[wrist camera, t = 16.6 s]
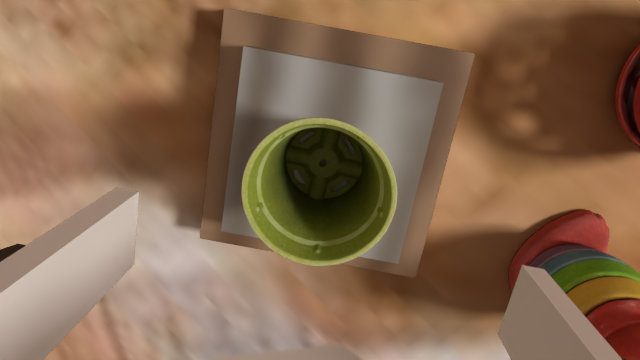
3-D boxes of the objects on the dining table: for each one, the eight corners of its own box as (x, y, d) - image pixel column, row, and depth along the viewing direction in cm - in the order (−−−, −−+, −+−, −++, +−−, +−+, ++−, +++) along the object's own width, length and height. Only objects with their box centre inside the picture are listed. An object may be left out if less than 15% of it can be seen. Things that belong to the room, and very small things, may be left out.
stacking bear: (627, 298, 44) (803, 457, 27) (525, 333, 46) (630, 502, 29) (597, 201, 42) (769, 310, 25) (489, 242, 43) (581, 370, 26)
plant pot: (340, 75, 34) (338, 85, 26) (408, 176, 36) (426, 216, 28) (241, 144, 36) (210, 175, 28) (310, 237, 38) (300, 291, 29)
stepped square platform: (209, 225, 44) (188, 252, 39) (233, 10, 39) (213, 4, 33) (411, 262, 44) (420, 295, 39) (465, 52, 39) (486, 54, 33)
